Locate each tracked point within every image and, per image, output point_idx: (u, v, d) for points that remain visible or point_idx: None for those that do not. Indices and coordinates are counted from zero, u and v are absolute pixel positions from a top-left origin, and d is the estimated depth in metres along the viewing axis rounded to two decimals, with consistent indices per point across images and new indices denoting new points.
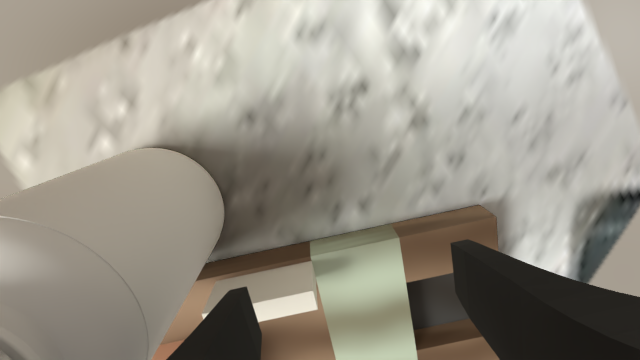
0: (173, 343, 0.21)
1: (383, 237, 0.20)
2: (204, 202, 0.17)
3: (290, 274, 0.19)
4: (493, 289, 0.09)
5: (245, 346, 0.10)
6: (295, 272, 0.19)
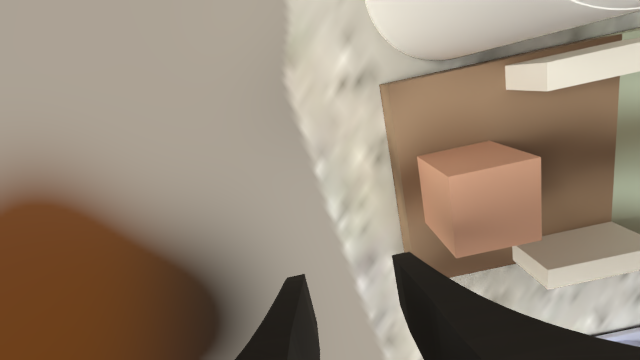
0: (435, 153, 0.18)
1: None
2: None
3: (615, 43, 0.16)
4: (420, 304, 0.09)
5: (310, 332, 0.10)
6: (619, 42, 0.16)
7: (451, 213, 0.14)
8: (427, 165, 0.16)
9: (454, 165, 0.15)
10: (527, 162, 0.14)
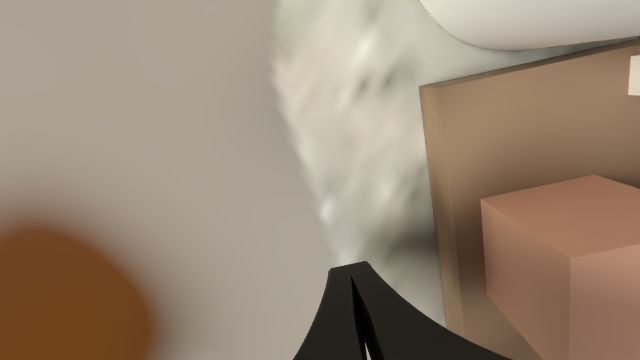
0: (509, 194, 0.11)
1: None
2: None
3: None
4: (365, 316, 0.09)
5: (359, 322, 0.10)
6: None
7: (568, 318, 0.08)
8: (506, 219, 0.10)
9: (564, 227, 0.09)
10: None
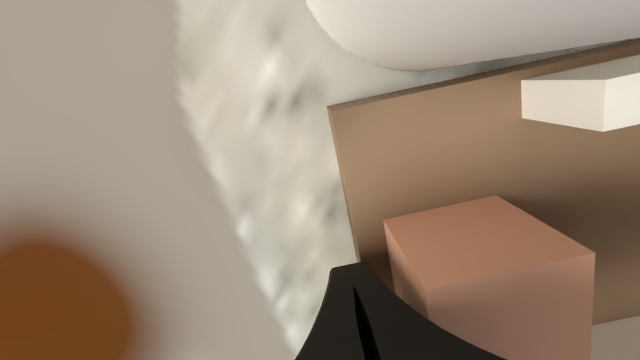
0: (412, 215, 0.11)
1: None
2: None
3: None
4: (363, 316, 0.09)
5: (361, 322, 0.10)
6: None
7: None
8: (395, 242, 0.10)
9: (438, 253, 0.09)
10: (569, 261, 0.08)
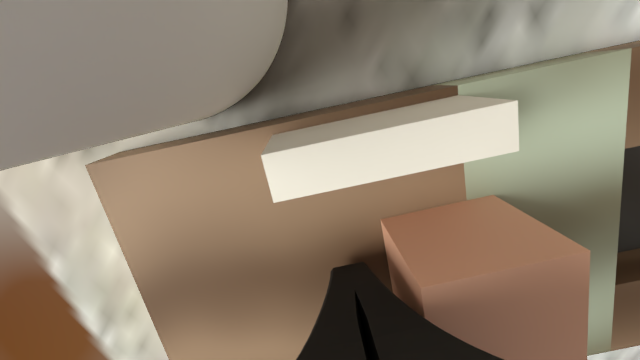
0: (409, 215, 0.11)
1: (594, 54, 0.11)
2: None
3: (429, 106, 0.09)
4: (362, 317, 0.09)
5: None
6: (438, 103, 0.10)
7: None
8: (392, 242, 0.10)
9: (434, 253, 0.09)
10: (565, 259, 0.08)
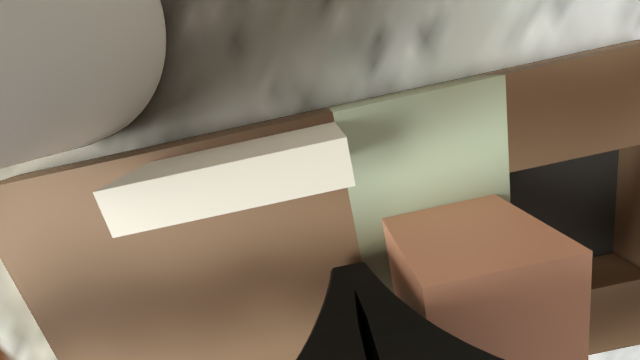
0: (410, 214, 0.11)
1: (472, 80, 0.11)
2: None
3: (293, 135, 0.09)
4: (362, 317, 0.09)
5: None
6: (303, 132, 0.10)
7: None
8: (393, 241, 0.10)
9: (436, 252, 0.09)
10: (567, 259, 0.08)
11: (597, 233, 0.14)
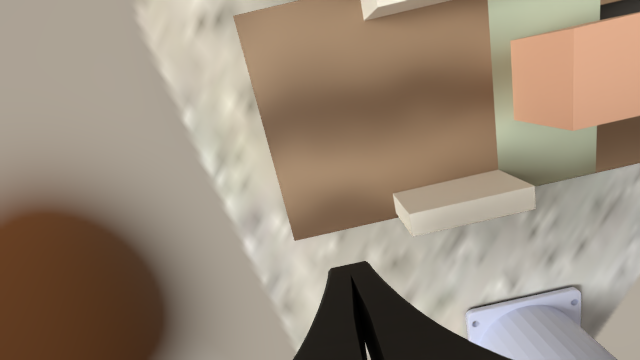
0: None
1: None
2: None
3: None
4: (365, 316, 0.09)
5: (359, 322, 0.10)
6: None
7: (573, 74, 0.13)
8: (530, 39, 0.15)
9: (569, 28, 0.14)
10: None
11: None
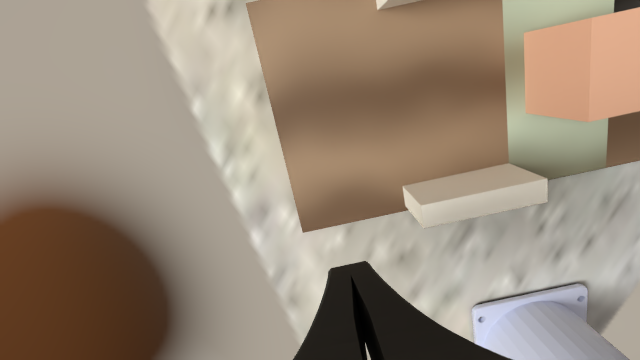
0: None
1: None
2: None
3: None
4: (365, 316, 0.09)
5: (359, 322, 0.10)
6: None
7: (589, 65, 0.13)
8: (545, 30, 0.15)
9: None
10: None
11: None
